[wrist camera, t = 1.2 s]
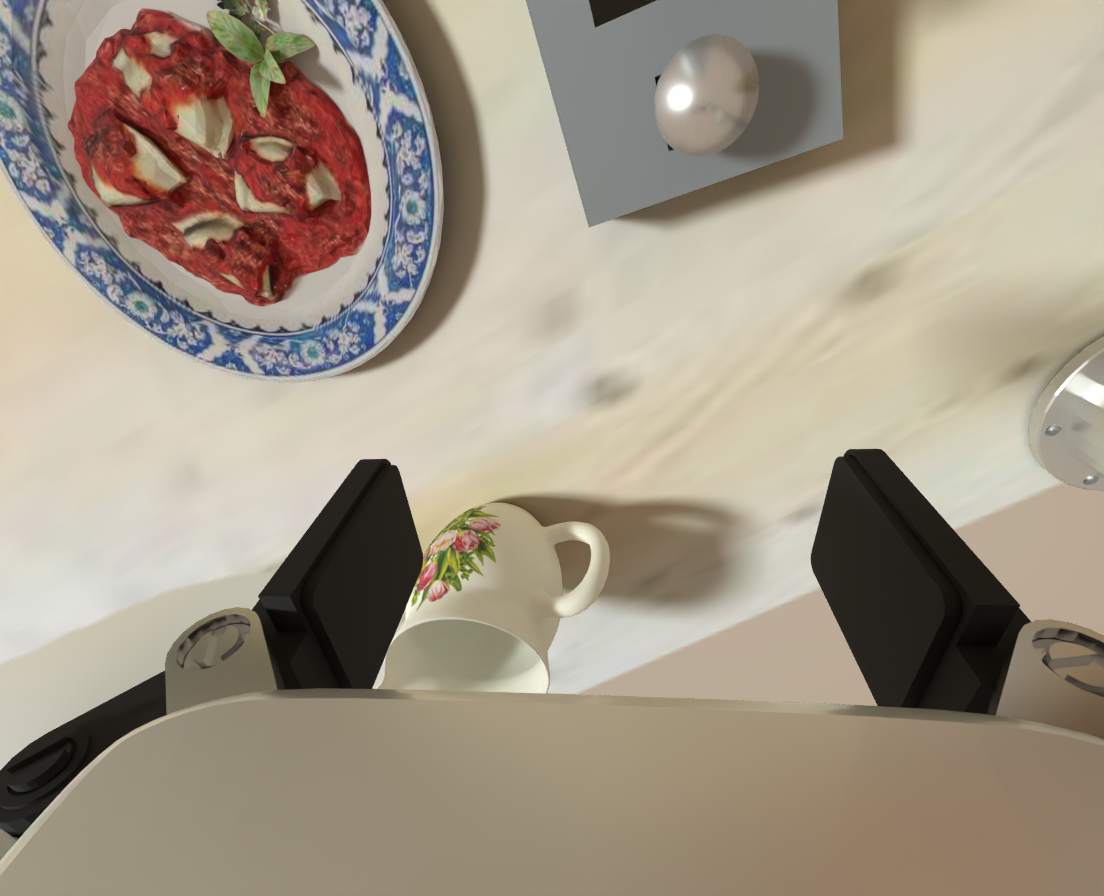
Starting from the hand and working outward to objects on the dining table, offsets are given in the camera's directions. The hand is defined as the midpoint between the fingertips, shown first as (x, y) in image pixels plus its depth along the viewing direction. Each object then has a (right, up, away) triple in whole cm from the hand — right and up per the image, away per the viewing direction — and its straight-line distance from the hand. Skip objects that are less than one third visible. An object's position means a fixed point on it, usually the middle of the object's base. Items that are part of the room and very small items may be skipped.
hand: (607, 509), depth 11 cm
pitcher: (-4, -5, +31) cm, 32 cm away
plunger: (+5, +18, +13) cm, 22 cm away
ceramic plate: (-20, +18, +19) cm, 33 cm away
